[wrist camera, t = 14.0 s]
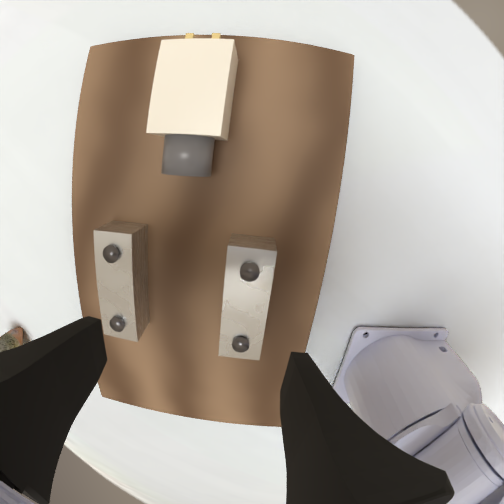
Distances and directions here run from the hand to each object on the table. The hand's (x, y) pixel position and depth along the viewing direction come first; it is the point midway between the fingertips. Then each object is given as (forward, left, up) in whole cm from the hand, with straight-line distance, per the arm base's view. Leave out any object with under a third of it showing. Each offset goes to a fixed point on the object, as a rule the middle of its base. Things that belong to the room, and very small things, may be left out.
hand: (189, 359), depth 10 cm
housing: (+2, +1, -8) cm, 9 cm away
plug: (+2, -10, -8) cm, 13 cm away
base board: (+2, 0, -9) cm, 10 cm away
